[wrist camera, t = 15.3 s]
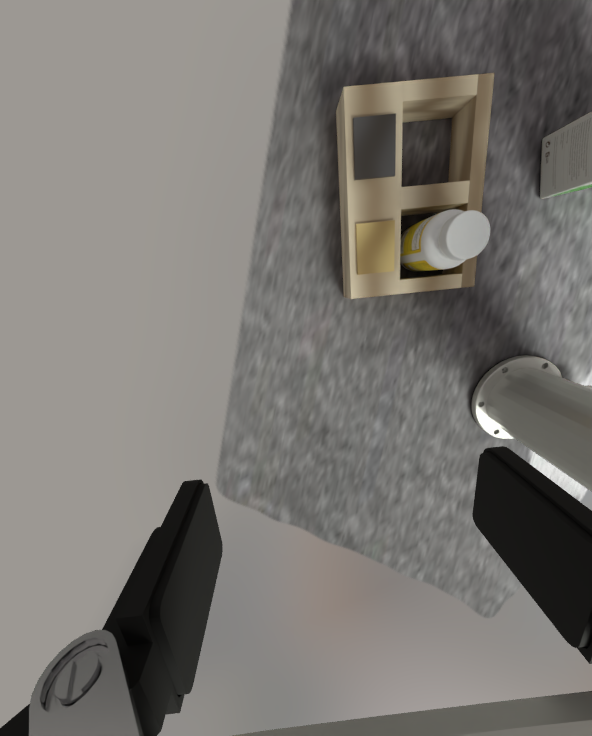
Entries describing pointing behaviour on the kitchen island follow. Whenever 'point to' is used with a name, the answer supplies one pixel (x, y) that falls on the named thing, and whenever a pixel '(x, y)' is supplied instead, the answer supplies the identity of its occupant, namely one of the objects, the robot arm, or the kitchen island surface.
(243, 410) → the kitchen island surface
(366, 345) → the kitchen island surface
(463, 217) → the supplement bottle
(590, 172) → the skincare box
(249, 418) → the kitchen island surface
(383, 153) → the socket block
